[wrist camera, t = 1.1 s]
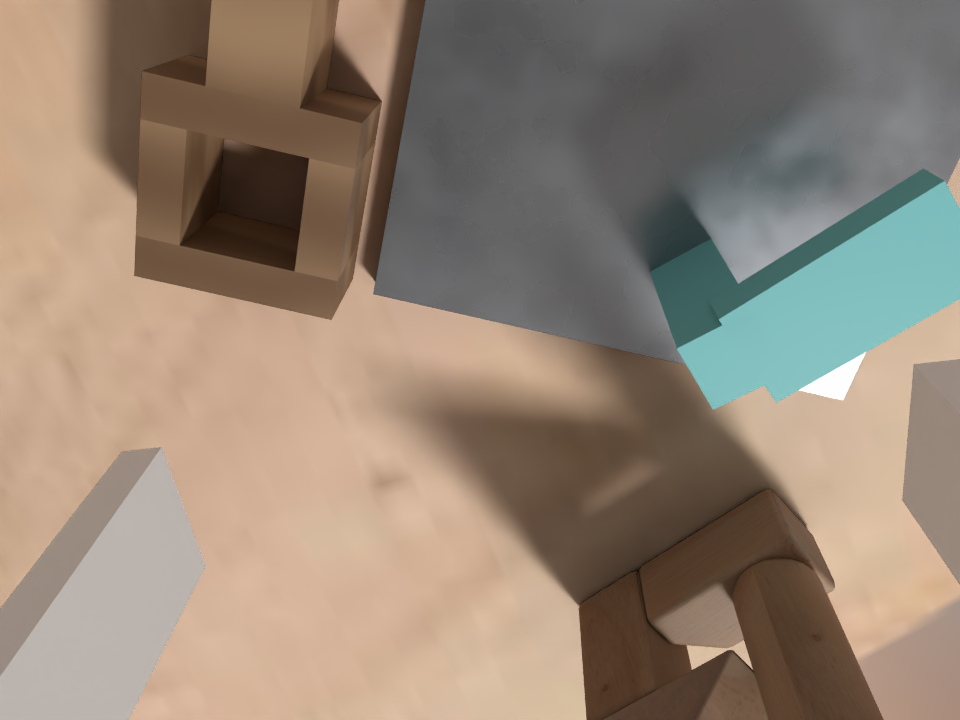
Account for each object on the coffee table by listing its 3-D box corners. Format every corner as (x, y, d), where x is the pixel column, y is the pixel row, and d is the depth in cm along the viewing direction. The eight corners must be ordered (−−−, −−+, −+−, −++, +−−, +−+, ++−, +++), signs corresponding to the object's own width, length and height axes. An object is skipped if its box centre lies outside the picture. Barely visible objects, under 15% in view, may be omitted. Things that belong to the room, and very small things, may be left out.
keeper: (639, 263, 33) (668, 350, 26) (850, 125, 30) (944, 180, 23) (687, 331, 34) (727, 430, 27) (895, 203, 31) (997, 278, 24)
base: (377, 284, 34) (336, 378, 26) (481, -299, 25) (462, -393, 18) (834, 388, 34) (914, 506, 27) (1084, -140, 26) (1295, -169, 19)
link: (352, 278, 33) (331, 319, 30) (177, 239, 33) (134, 275, 30) (445, -287, 25) (431, -324, 22) (212, -348, 25) (159, -396, 21)
